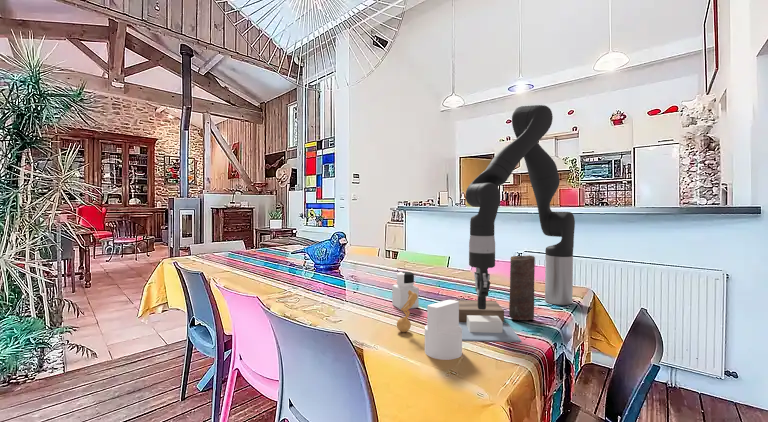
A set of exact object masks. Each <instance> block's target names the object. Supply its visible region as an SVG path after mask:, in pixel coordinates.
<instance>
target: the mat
mask: <svg viewBox="0 0 768 422" xmlns="http://www.w3.org/2000/svg"><path fill="white" fill-rule="evenodd" d="M459 326H460V327H461V328H462V342H463V341H465V342H499V343H500V342H503V343H504V342H505V343H506V342H507V343H522V339H521V338H520V337H519V335H518V334H517V333H516V332H515V330H514V329H513V328H512V326H511V325H510V324H509V323H507V322H504V323H503V333H488V332H469V330H468V327H467V322H459Z"/></svg>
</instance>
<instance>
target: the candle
mask: <svg viewBox="0 0 768 422" xmlns="http://www.w3.org/2000/svg"><path fill="white" fill-rule="evenodd" d="M535 259H536V257H535V256H534V255H518V256H517V255H513V256H510V269H509V270H510V271H509V273H510V274H509V301H508V303H509V305H508V306H509V307H508V315H509V317H510V318H511V319H513V320H514V321H531V320H534V319H535V267H536V263H535V262H536V260H535Z"/></svg>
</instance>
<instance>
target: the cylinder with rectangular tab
mask: <svg viewBox="0 0 768 422" xmlns="http://www.w3.org/2000/svg"><path fill="white" fill-rule="evenodd" d="M455 300H456V299H446V300H441V301H438V302H435V303H431V304H427V309H426V312H427V317H426V318H427V321H426V325H425V326H424V353H425V355H427V356H428V357H430V358H432V359H435V360H441V361H442V360H444V361H445V360H447V361H448V360H449V361H450V360H455V359H458V358H461V357H462V355H463V341H462V328H461V327H460V326H459V301H455Z"/></svg>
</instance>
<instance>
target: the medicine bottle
mask: <svg viewBox="0 0 768 422" xmlns="http://www.w3.org/2000/svg"><path fill="white" fill-rule="evenodd" d="M414 284H415V274H414V272H411V271H399V272H398V273H396V284H392V286H391V287H392V289H391V290H392V295H391V296H392V301H391V302H392V306H394V307H396V308H397V309H398V310H400V311H401V309H402V308H403V306H404V305H405V304H406V302H407V301H408V296H409V294H408V291H409V290H410V291H412V292H413V293H416V294H417V299H416V301H415V304H413V306H412V307H411V308H410V309H409V310H411V309H417V308H419V307H420V306H419V296H420V295H419V289H420V288H419V287H418V286H415V285H414ZM408 303H409V302H408ZM407 305H408V304H407ZM407 305H406V306H407ZM406 306H405V307H406ZM405 307H404V308H405Z"/></svg>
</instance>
